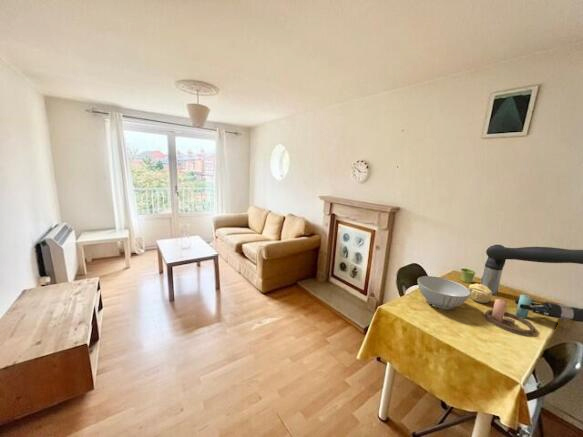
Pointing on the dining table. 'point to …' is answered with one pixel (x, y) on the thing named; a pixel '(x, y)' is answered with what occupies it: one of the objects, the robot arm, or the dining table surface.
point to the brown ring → (511, 323)
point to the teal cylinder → (526, 301)
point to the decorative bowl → (443, 292)
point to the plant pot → (467, 275)
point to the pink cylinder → (499, 310)
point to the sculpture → (480, 293)
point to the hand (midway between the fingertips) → (518, 303)
